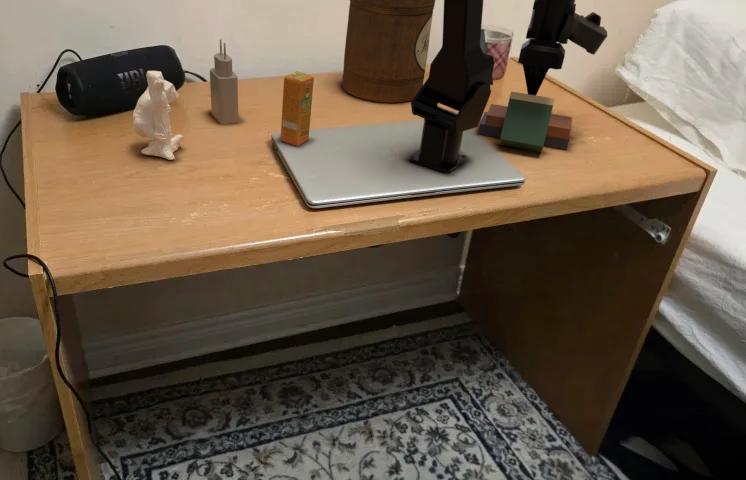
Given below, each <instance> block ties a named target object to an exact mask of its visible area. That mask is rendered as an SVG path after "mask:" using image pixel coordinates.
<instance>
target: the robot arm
mask: <svg viewBox="0 0 746 480" xmlns="http://www.w3.org/2000/svg"><path fill="white" fill-rule="evenodd" d="M483 7H484V0H443V14H442V15H443V17H442V19H443V20H442V43H441V44H442V45H441V48H440V49H439V50H438V52H437V53H436V55H435V56H434V58H433V59H432V61H431V63H430V66H429V74H428V77H427V78H426V80H425V81H424V82H423V86H422V87H421V89H420V90H419V92H418V93H417V94H416V96H415V97H414V99H413V100H410V101H411V102H410V108H411V115H413V116H417V117H420V118H422V119H423V126H422V132H421V139H420V146H419V150H418V151H417V152H415V153H413V154H412V155H411V156H409V162H411V163H415V164H418V165H421V166H424V167H427V168H429V169H434V170H437V171H440V172H443V173H446V174H449V173H452V172H453V171H454V170H455V169H457V168H458V167H459V166H460V165H461V164H462V163H464V162H465V161H466V160H467V155H465V154H462V153H460V150H461V146H462V139H463V134H464V132H465V131H470V130H472V129H475V128H478V127H479V125H480V122H481V120H482V117H483V115H484V112H485V110H486V107H487V105H488V102H489V99H490V96H491V86H493V85H494V80H493V73H494V67H495V58H494V56H493V55H491V54H487V53H484V51H483V50H482V46H481V37H482V24H483V23H482V22H483V11H484V8H483ZM576 7H577V3H576V0H534V1H533V5H532V11H531V16H530V21H529V23H528V26H527V30H526V35H525V39H527V40H526V41H525V42H524V43H522V45H521V47H520V51H519V55H518V60H517V63H518V64H520V65H522V69H523V74H524V78H525V79H524V80H525V86H526V91H527V94H529V95H535V96H538V95H537V94H538V92H539V90H540V88H541V86H542V84H543V82H544V81H545V78H546V76H547V74H548V72H549V70H550V69H551V70H562V69H563V64H564V62H565V61H564V60H565V57H566V49H565V48H564V46H563V45H567V44H568V42H569V41H570V42H572V43H573V44H575V45H577V46H578V47H581V48H583V49H584V50H585V51H586V53H588V54H590V55H592V56H594V55H596V53H597V52H598V51H599V49H600V47H601V46H602V44H603V43H604V42H605V41H606V39H607V38H608V31H607V29H605V27H604V26H602V25H601V22H602V15H600V14H598V13H596V12H594V11H592V12H591V13H588V14H587V15H586V16H585V15H582V14H581V15H580V14H578V13H577V12H576V10H577V8H576ZM439 105H442V106H444V107H447V108H450V109H452V110H455V111H457V113H456V112H454V111H451V110H449V109H446V108H444V107H442V106H439Z"/></svg>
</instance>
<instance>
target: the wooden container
mask: <svg viewBox="0 0 746 480" xmlns="http://www.w3.org/2000/svg"><path fill="white" fill-rule="evenodd" d="M435 3H436V0H349V7H348V17H347V26H346V36H345V45H344V54H343V55H344V56H343V70H342V82H341V83H342V88H343V90H344V91H345V92H346V93H348V94H349V95H352V96H354V97H356V98H358V99H362V100H366V101H371V102H378V103H389V104H391V103H392V104H393V103H405V102H409V101H412V100H413V99H414V97H415V96H416V94H417V93H418V92H419V90H420V89H421V87H422V86H423V85H424V82H425V81H424V80H425V73H426V69H427V68H426V67H427V62H428V54H429V49H430V48H429V47H430V38H431V29H432V23H433V15H434V9H435V5H436V4H435Z"/></svg>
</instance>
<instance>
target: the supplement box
mask: <svg viewBox="0 0 746 480" xmlns="http://www.w3.org/2000/svg"><path fill="white" fill-rule="evenodd" d="M314 81H315V77H314V76H312V75H310V74H308V73H305V72H301V71H298V70H296V71H294V72H293V73H290V74H286V75H284V77H283V89H282V106H281V123H280V124H281V125H280V141H282V142H284V143H286V144H290V145H293V146H295V147H296V146H297V147H299V146H300V145H302V144H304V143H305V142H307V141H309V139H310V126H311V115H312V103H313V91H314Z"/></svg>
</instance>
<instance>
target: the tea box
mask: <svg viewBox="0 0 746 480" xmlns="http://www.w3.org/2000/svg"><path fill="white" fill-rule="evenodd" d="M555 100H556V99H555V98H553V97H547V96H541V95H536V96H535V95H529V94H528V93H524V92H517V91H510V94H509V99H508V103H507V111H506V115H505V120H504V124H503V128H502V132H501V136H500V138H499V143H498V145H500V146H506V147H510V148H514V149H515V148H516V149H521V150H527V151H532V152H537V153H542V151H543V150H544V147H545V146H544V142H545V138H546V134H547V129H548V125H549V121H550V117H551V114H552V112H553V108H554V105H555Z"/></svg>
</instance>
